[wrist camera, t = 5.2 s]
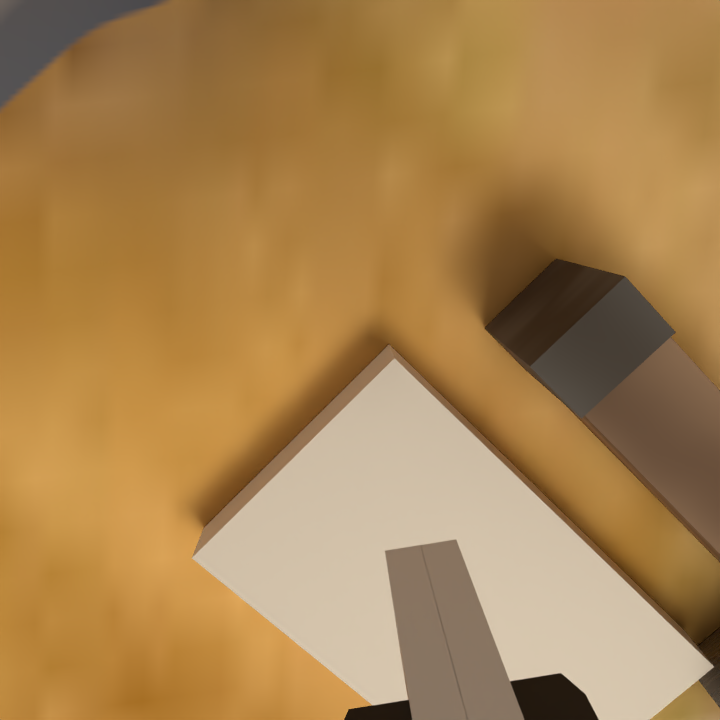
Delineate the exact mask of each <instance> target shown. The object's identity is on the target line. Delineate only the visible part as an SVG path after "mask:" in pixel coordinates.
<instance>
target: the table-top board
mask: <svg viewBox="0 0 720 720" xmlns="http://www.w3.org/2000/svg"><path fill="white" fill-rule="evenodd" d="M455 539H456V540H457V543H458V545H459V548H460V551H461V553H462V556H463V559H464V561H465V564H466V567H467V569H468V572H469V574H470V577H471V580H472V582H473V585H474V588H475V590H476V593H477V596H478V598H479V601H480V604H481V606H482V609H483V612H484V614H485V617H486V619H487V622H488V625H489V627H490V630H491V633H492V635H493V638H494V641H495V643H496V646H497V649H498V651H499V654H500V657H501V659H502V662H503V664H504V667H505V670H506V672H507V675H508V678H509V680H510V681H514V680H521V679H527V678H533V677H539V676H545V675H552V674H558V673H562V674H563V675H564V676H565V677H566V678H567V679H569V680H570V681H571V682H572V683H573V684H574V685H575V686H577V687H578V688H579V689H580V690H581V691H582V692H584V693H585V694H586V696H587V698H588V700H589V702H590V704H591V706H592V708H593V710H594V711H595V713H596V715H597V717H598V719H599V720H650V719H651V718H652V717H653V716H655V715H656V714H657V713H658V712H660V711H661V710H662V709H663V708H664V707H666V706H667V705H668V704H669V703H671V702H672V701H673V700H674V699H675V698H677V697H678V696H679V695H680V694H682V693H683V692H684V691H685V690H686V689H688V688H689V687H690V686H691V685H693V684H694V683H695V682H696V681H698V680H699V679H700V678H701V677H702V676H704V675H705V674H706V673H707V672H709V671H710V670H711V669H712V668H713V667H714V666H713V665H712V664H711V662H710V661H709V660H708V659H707V657H706V656H705V655H704V654H703V653H702V651H701V650H700V649H699V648H698V646H697V645H696V644H695V643H694V642H693V640H692V639H691V638H690V637H689V635H688V634H687V633H686V632H685V631H684V630H683V629H682V628H681V627H680V626H679V625H678V624H677V623H676V622H675V621H674V620H673V619H672V618H671V617H670V616H669V615H668V614H667V613H666V612H665V611H664V610H663V609H662V608H661V607H660V606H659V605H658V604H657V603H656V602H655V601H654V600H652V599H651V598H650V597H649V596H648V595H647V594H646V593H645V592H644V591H643V590H642V589H641V588H640V587H639V586H638V585H637V584H636V583H635V582H634V581H633V580H632V579H631V578H630V577H629V576H628V575H627V574H626V573H625V572H624V571H623V570H622V569H620V568H619V567H618V566H617V565H616V564H615V563H614V562H613V561H612V560H611V559H610V558H609V557H608V556H607V555H606V554H605V553H604V552H603V551H602V550H601V549H600V548H599V547H598V546H597V545H596V544H595V543H594V542H593V541H592V540H591V539H590V538H588V537H587V536H586V535H585V534H584V533H583V532H582V531H581V530H580V529H579V528H578V527H577V526H576V525H575V524H574V523H573V522H572V521H571V520H570V519H569V518H568V517H567V516H566V515H565V514H564V513H563V512H562V511H561V510H560V509H559V508H558V507H556V506H555V505H554V504H553V503H552V502H551V501H550V500H549V499H548V498H547V497H546V496H545V495H544V494H543V493H542V492H541V491H540V490H539V489H538V488H537V487H536V486H535V485H534V484H533V483H532V482H531V481H530V480H529V479H528V478H527V477H526V476H524V475H523V474H522V473H521V472H520V471H519V470H518V469H517V468H516V467H515V466H514V465H513V464H512V463H511V462H510V461H509V460H508V459H507V458H506V457H505V456H504V455H503V454H502V453H501V452H500V451H499V450H498V449H497V448H496V447H495V446H494V445H492V444H491V443H490V442H489V441H488V440H487V439H486V438H485V437H484V436H483V435H482V434H481V433H480V432H479V431H478V430H477V429H476V428H475V427H474V426H473V425H472V424H471V423H470V422H469V421H468V420H467V419H466V418H465V417H464V416H463V415H462V414H460V413H459V412H458V411H457V410H456V409H455V408H454V407H453V406H452V405H451V404H450V403H449V402H448V401H447V400H446V399H445V398H444V397H443V396H442V395H441V394H440V393H439V392H438V391H437V390H436V389H435V388H434V387H433V386H432V385H431V384H430V383H428V382H427V381H426V380H425V379H424V378H423V377H422V376H421V375H420V374H419V373H418V372H417V371H416V370H415V369H414V368H413V367H412V366H411V365H410V364H409V363H408V362H407V361H406V360H405V359H404V358H403V357H402V356H401V355H400V354H399V353H398V352H396V351H395V350H394V349H393V348H392V347H391V346H390V345H388V346H387V347H386V348H385V349H384V350H383V351H382V352H381V353H380V354H379V355H378V356H377V357H376V358H375V359H374V360H373V361H372V362H371V363H370V364H369V365H368V366H367V367H366V368H365V369H364V370H363V371H362V372H361V373H360V374H359V375H358V376H357V377H356V378H355V379H354V380H353V381H352V382H351V383H350V384H349V385H348V386H346V387H345V388H344V389H343V390H342V391H341V392H340V393H339V394H338V395H337V396H336V397H335V398H334V399H333V400H332V401H331V402H330V403H329V404H328V405H327V406H326V407H325V408H324V409H323V410H322V411H321V412H320V413H319V414H318V415H317V416H316V417H315V418H314V419H313V420H312V421H311V422H310V423H309V424H308V425H307V426H306V427H305V428H304V429H303V430H302V431H301V432H300V433H299V434H298V435H297V436H296V437H295V438H294V439H293V440H292V441H291V442H290V443H289V444H288V445H287V446H286V447H285V448H284V449H283V450H282V451H281V452H280V453H279V454H278V455H277V456H276V457H275V458H274V459H273V460H272V461H271V462H270V463H269V464H268V465H267V466H266V467H265V468H264V469H263V470H262V471H261V472H260V473H259V474H258V475H257V476H256V477H255V478H254V479H253V480H252V481H251V482H250V483H249V484H248V485H247V486H246V487H245V488H244V489H243V490H242V491H241V492H240V493H239V494H238V495H237V496H236V497H235V498H234V499H232V500H231V501H230V502H229V503H228V504H227V505H226V506H225V507H224V508H223V509H222V510H221V511H220V512H219V513H218V514H217V515H216V516H215V517H214V518H213V519H212V520H211V521H210V522H209V523H208V524H207V525H206V526H205V527H204V529H203V531H202V534H201V536H200V539H199V541H198V544H197V546H196V549H195V551H194V554H193V556H192V559H194V560H195V561H196V562H197V563H199V564H200V565H201V566H202V567H204V568H205V569H206V570H207V571H208V572H210V573H211V574H212V575H213V576H215V577H216V578H217V579H218V580H219V581H221V582H222V583H223V584H224V585H226V586H227V587H228V588H229V589H231V590H232V591H233V592H234V593H235V594H237V595H238V596H239V597H240V598H242V599H243V600H244V601H245V602H246V603H248V604H249V605H250V606H251V607H253V608H254V609H255V610H256V611H258V612H259V613H260V614H261V615H262V616H264V617H265V618H266V619H267V620H269V621H270V622H271V623H272V624H274V625H275V626H276V627H277V628H278V629H280V630H281V631H282V632H283V633H285V634H286V635H287V636H288V637H289V638H291V639H292V640H293V641H294V642H296V643H297V644H298V645H299V646H301V647H302V648H303V649H304V650H305V651H307V652H308V653H309V654H310V655H312V656H313V657H314V658H315V659H316V660H318V661H319V662H320V663H321V664H323V665H324V666H325V667H326V668H328V669H329V670H330V671H331V672H332V673H334V674H335V675H336V676H337V677H339V678H340V679H341V680H342V681H344V682H345V683H346V684H347V685H348V686H350V687H351V688H352V689H353V690H355V691H356V692H357V693H358V694H359V695H361V696H362V697H363V698H364V699H366V700H367V701H368V702H369V703H371V704H372V705H379V704H385V703H391V702H398V701H404V700H408V697H407V691H406V685H405V678H404V672H403V666H402V660H401V653H400V647H399V640H398V634H397V627H396V621H395V614H394V608H393V601H392V594H391V588H390V581H389V575H388V568H387V562H386V555H385V551H386V550H392V549H398V548H404V547H411V546H417V545H423V544H430V543H436V542H442V541H449V540H455Z"/></svg>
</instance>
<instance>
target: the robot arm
mask: <svg viewBox="0 0 720 720" xmlns="http://www.w3.org/2000/svg"><path fill="white" fill-rule="evenodd" d="M385 555H386V562H387V568H388V575H389V581H390V588H391V594H392V601H393V608H394V614H395V621H396V627H397V634H398V640H399V647H400V653H401V660H402V666H403V672H404V678H405V685H406V691H407V697H408V700H404V701H398V702H391V703H385V704H379V705H373V706H367V707H360V708H354V709H349V710H348V712H347V715H346V717H345V719H344V720H599V719H598V717H597V715H596V713H595V711H594V710H593V708H592V706H591V704H590V702H589V700H588V698H587V696H586V694H585V693H584V692H582V691H581V690H580V689H579V688H578V687H577V686H575V685H574V684H573V683H572V682H571V681H570V680H569V679H567V678H566V677H565V676H564V675H563V674H562V673H558V674H552V675H545V676H539V677H533V678H527V679H521V680H514V681H510V680H509V678H508V675H507V672H506V670H505V667H504V664H503V662H502V659H501V657H500V654H499V651H498V649H497V646H496V643H495V641H494V638H493V635H492V633H491V630H490V627H489V625H488V622H487V619H486V617H485V614H484V612H483V609H482V606H481V604H480V601H479V598H478V596H477V593H476V590H475V588H474V585H473V582H472V580H471V577H470V574H469V572H468V569H467V567H466V564H465V561H464V559H463V556H462V553H461V551H460V548H459V545H458V543H457V540H456V539H455V540H449V541H442V542H436V543H430V544H423V545H417V546H411V547H404V548H398V549H392V550H386V551H385Z"/></svg>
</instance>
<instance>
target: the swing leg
mask: <svg viewBox="0 0 720 720" xmlns="http://www.w3.org/2000/svg"><path fill="white" fill-rule="evenodd" d="M485 329H486V330H487V331H488V332H489V333H490V334H491V335H492V336H493V337H494V338H495V339H496V340H497V341H498V342H499V343H500V344H501V345H502V346H503V347H504V348H505V350H506V351H507V352H508V353H509V354H510V355H511V356H512V357H513V358H514V359H515V360H516V361H517V362H518V363H519V364H520V365H521V366H522V367H523V368H524V369H525V370H526V371H528V372H529V373H530V374H531V375H532V376H533V377H534V378H535V379H537V380H538V381H539V382H540V383H541V384H542V385H543V386H545V387H546V388H547V389H548V390H549V391H550V392H551V393H553V394H554V395H555V396H556V397H557V398H558V399H559V400H561V401H562V402H563V403H564V404H565V405H566V406H567V407H568V408H569V409H570V410H571V411H572V412H573V413H574V414H575V415H576V416H577V417H578V418H579V419H580V420H581V421H582V422H583V423H584V424H585V425H586V426H587V427H588V429H589V430H590V431H591V432H592V433H593V434H594V435H595V436H596V437H597V438H598V439H599V440H600V441H601V442H602V443H603V444H604V445H605V446H606V447H607V448H608V449H609V450H610V451H611V452H612V453H613V454H614V455H615V456H616V457H617V458H618V459H619V460H620V461H621V462H622V463H623V464H624V465H625V466H626V467H627V468H628V469H629V470H630V471H631V472H632V473H633V474H634V475H635V476H636V477H637V478H638V479H639V480H640V481H641V482H642V483H643V484H644V486H645V487H646V488H647V489H648V490H649V491H650V492H651V493H652V494H653V495H654V496H655V497H656V498H657V499H658V500H659V501H660V502H661V503H662V504H663V505H664V506H665V507H666V508H667V509H668V510H669V511H670V512H671V513H672V514H673V515H674V516H675V517H676V518H677V519H678V520H679V521H680V522H681V523H682V524H683V525H684V526H685V527H686V528H687V529H688V530H689V531H690V532H691V533H692V534H693V535H694V536H695V537H696V538H697V539H698V540H699V541H700V543H701V544H702V545H703V546H704V547H705V548H706V549H707V550H708V551H709V552H710V553H711V554H712V555H713V556H714V557H715V558H716V559H717V560H718V561H719V562H720V391H719V389H718V388H717V387H716V386H715V385H714V384H713V383H712V382H711V381H710V380H709V378H708V377H707V376H706V375H705V374H704V373H703V372H702V371H701V370H700V369H699V367H698V366H697V365H696V364H695V363H694V362H693V361H692V360H691V359H690V358H689V356H688V355H687V354H686V353H685V352H684V351H683V350H682V349H681V348H680V347H679V345H678V344H677V343H676V342H675V341H674V340H673V339H672V338H671V336H672V335H673V334H674V333H676V332H675V331H674V330H673V329H672V328H671V327H670V326H669V324H668V323H667V322H666V321H665V320H664V319H663V318H662V317H661V316H660V314H659V313H658V312H657V311H656V310H655V309H654V308H653V307H652V306H651V305H650V303H649V302H648V301H647V300H646V299H645V298H644V297H643V296H642V295H641V293H640V292H639V291H638V290H637V289H636V288H635V287H634V286H633V285H632V284H631V282H630V281H629V280H628V279H627V278H626V277H625V276H621V275H617V274H613V273H609V272H606V271H602V270H598V269H594V268H590V267H586V266H582V265H579V264H575V263H571V262H567V261H563V260H559V259H555V260H554V261H553V262H552V263H551V264H550V265H549V266H548V267H547V268H546V269H545V270H544V271H543V272H542V273H541V274H540V275H539V276H538V277H537V278H536V279H535V280H534V281H533V282H532V283H531V284H530V285H529V286H528V287H526V288H525V289H524V290H523V291H522V292H521V293H520V294H519V295H518V296H517V297H516V298H515V299H514V300H513V301H512V302H511V303H510V304H509V305H508V306H507V307H506V308H505V309H504V310H503V311H502V312H501V313H500V314H499V315H498V316H497V317H495V318H494V319H493V320H492V321H491V322H490V323H489V324H488V325H487V326H486V327H485Z"/></svg>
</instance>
